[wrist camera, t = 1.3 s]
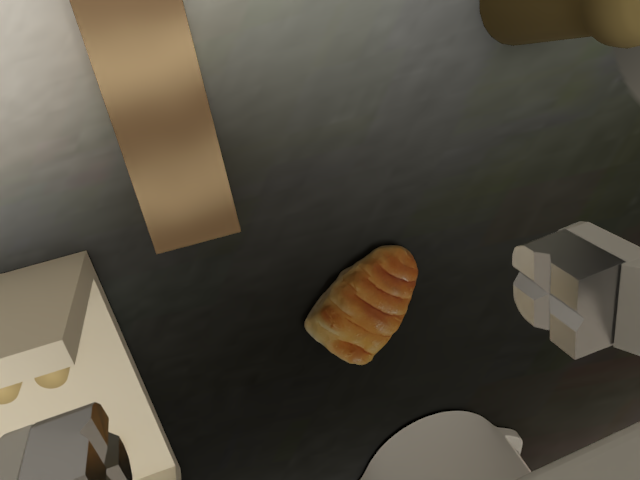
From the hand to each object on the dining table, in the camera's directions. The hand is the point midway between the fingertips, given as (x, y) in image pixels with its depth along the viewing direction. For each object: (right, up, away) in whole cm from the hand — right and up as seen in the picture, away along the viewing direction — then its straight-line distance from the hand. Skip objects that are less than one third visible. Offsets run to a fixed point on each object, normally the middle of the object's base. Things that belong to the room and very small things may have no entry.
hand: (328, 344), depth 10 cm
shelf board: (-9, +10, +21) cm, 25 cm away
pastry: (+3, -2, +30) cm, 31 cm away
